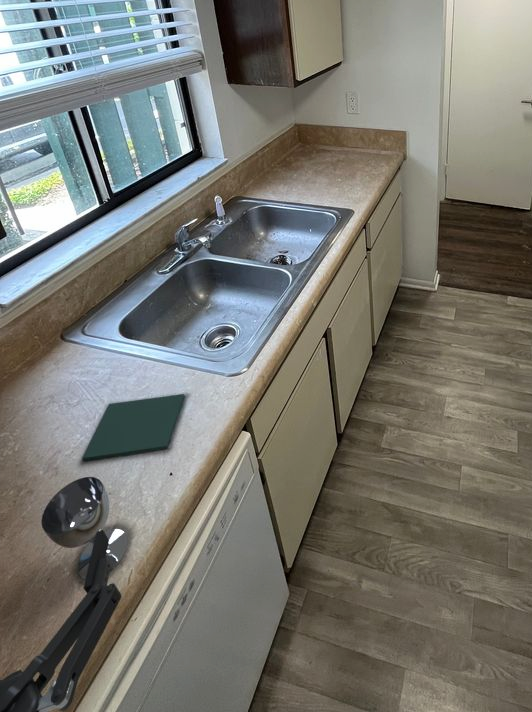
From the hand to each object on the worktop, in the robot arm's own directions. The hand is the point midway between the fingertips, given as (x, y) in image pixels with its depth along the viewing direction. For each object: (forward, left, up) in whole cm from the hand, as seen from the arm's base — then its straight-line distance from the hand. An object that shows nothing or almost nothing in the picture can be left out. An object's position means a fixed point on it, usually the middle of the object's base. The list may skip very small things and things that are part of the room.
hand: (44, 558), depth 58 cm
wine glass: (-2, +8, -18) cm, 20 cm away
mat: (-5, +31, -18) cm, 37 cm away
